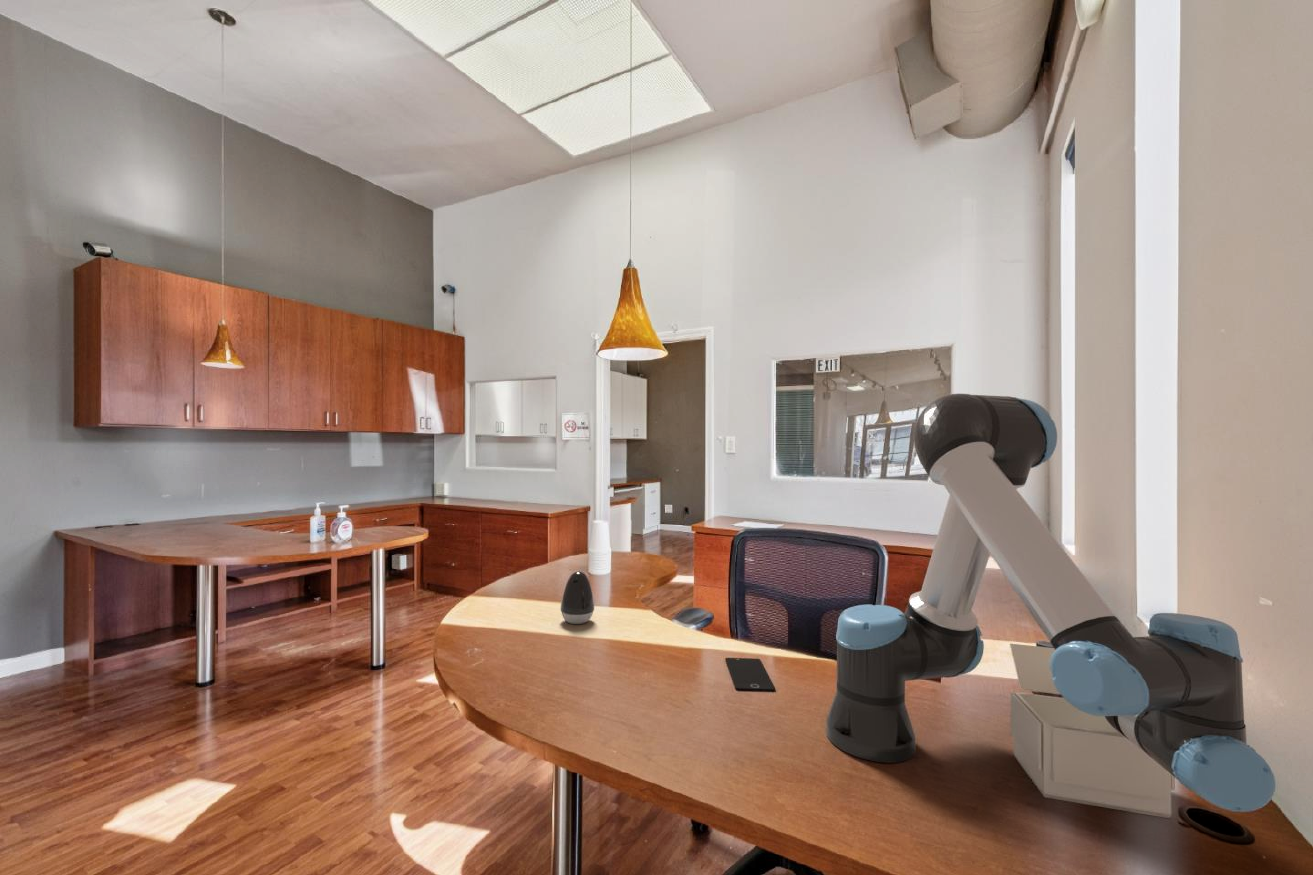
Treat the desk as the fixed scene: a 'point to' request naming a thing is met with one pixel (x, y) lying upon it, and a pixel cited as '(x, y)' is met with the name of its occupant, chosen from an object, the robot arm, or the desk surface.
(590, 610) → the black egg shaped device
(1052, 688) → the far flap
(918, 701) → the desk surface
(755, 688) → the cell phone
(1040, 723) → the carton
